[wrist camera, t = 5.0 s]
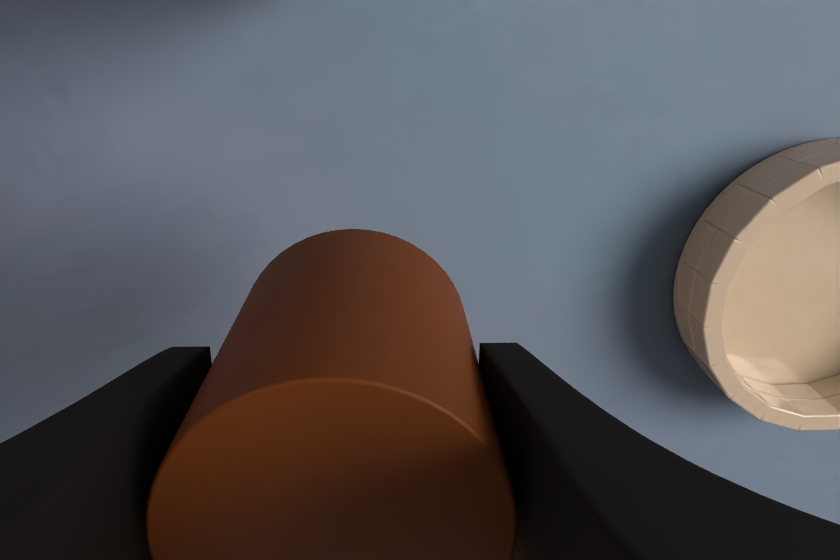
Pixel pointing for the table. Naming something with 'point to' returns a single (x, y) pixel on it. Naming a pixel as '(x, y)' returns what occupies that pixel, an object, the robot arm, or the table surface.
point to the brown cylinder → (339, 421)
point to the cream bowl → (770, 289)
